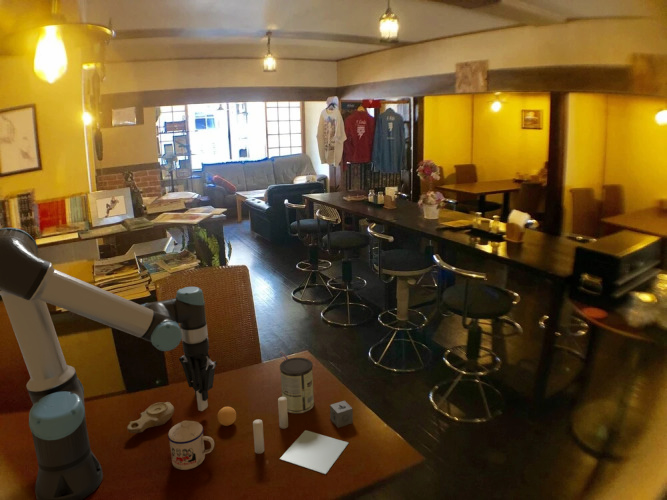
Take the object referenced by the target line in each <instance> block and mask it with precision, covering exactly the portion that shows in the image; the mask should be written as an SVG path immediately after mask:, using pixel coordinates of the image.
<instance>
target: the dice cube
mask: <svg viewBox="0 0 667 500" xmlns="http://www.w3.org/2000/svg"><path fill="white" fill-rule="evenodd" d="M329 408H330V409H329V413H330V414H329V417H330V418H329V419H330V421H331V422H332V423H333V424H334V425H335V426H336V428H337V429H339V428H342V427H345V426H349V425H352V424H353V423H354V422H353V421H354V416H353V415H354V414H353V413H354V412H353V411H354V410H353V407H352V406H351V405H350V404H349V403H348V402H346V400H342V401H339V402H335V403H331V404H330V405H329Z"/></svg>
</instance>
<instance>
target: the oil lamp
mask: <svg viewBox="0 0 667 500" xmlns="http://www.w3.org/2000/svg"><path fill="white" fill-rule="evenodd" d="M174 412H175V406H174V405H173V404H172V403H171V402H170V401H166V402H160V401H159V402H156V403H153V404H150V406H148V407H147V408H146V409H145V410H144V411H142V412H140V418H139V419H136V420H134V421H133V420H132V421H129V424H128V425H127V426H126V429H127V431H128V432H129V433H131V434H138V433H141V434H142V433H143V432H144V431H145V430H146V429H149V428H153V427H160V426H163V425H164V424H166V423H167V422H169V420H170V419H171V418H172V416H173V414H175V413H174Z"/></svg>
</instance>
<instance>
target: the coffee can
mask: <svg viewBox="0 0 667 500" xmlns="http://www.w3.org/2000/svg"><path fill="white" fill-rule="evenodd" d="M313 365H314V364H313V362H312V361H311V360H310V359H308V358H305V357H292V358H291V357H290V358H288V359H287V360H286V359H285V361H284V360H283V361H281V363H280V364H279V370H280V371H279V372H280V385H281V397H286V398H287V411H288V413H291V414H304V413H307V412H309V411H310V410H311V409H313V408H314V406H315V402H314V401H315V399H314V378H313V377H314V376H313V375H314V374H313Z"/></svg>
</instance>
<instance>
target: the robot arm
mask: <svg viewBox="0 0 667 500" xmlns="http://www.w3.org/2000/svg"><path fill="white" fill-rule="evenodd" d="M0 296H1V299H2V302H3V305H4V307H5V310H6V313H7V316H8V318H9V321H10V324H11V328H12V330H13V332H14V335H15V339H16V340H17V343H18V346H19V349H20V352H21V355H22V357H23V361H24V363H25V366H26V369H27V371H28V374H29V377H30V378H29V380H28V381H27V383H26V385H25V386H26V389H27V392H28V395H29V398H30V400H31V403H32V407H31V408H30V410H29V413H28V427H29V429H30V431H31V435H32V440H33V446H34V451H35V454H36V459H37V465H38V470H37V474H36V475H37V476H36V482H35V485H34V492H35V497H36V500H84V499H85V498H86V497H88V496H90V495H91V494H92V493H93V492H95V491H96V489H98V487H99V486H100V484H101V483H102V481H103V477H104V474H103V469H102V465H101V464H100V461H99V460H98V458H97V457H96V456H95V454H94V453H93V451H92V450H91V443H90V439H89V432H88V426H87V419H86V409H85V407H86V405H85V390H84V386H83V384H82V383H81V380H80V379H79V378H78V375H77V371H76V369H75V367H74V366H71V365H68V364H67V362H66V358H65V356H64V353H63V349H62V348H61V344H60V341H59V339H58V335H57V332H56V329H55V326H54V323H53V319H52V317H51V314H50V311H49V308H48V305H47V304H50V305H52V306H55V307H58V308H61V309H63V310H66V311H68V312H71V313H73V314H77V315H79V316H82V317H84V318H87V319H89V320H92V321H95V322H98V323H99V324H102V325H106V326H108V327H110V328H112V329H116V330H119V331H121V332H124V333H127V334H130V335H131V336H135V337H137V338H140V339H143V340H144V341H147V342H150V343H151V344H152V346H154V348H156V349H157V350H159V351H161V352H169V351H172V350H174V349H175V348H177V347H178V346H179V344H180V343H181V342H182V344H181V345H182V352H183V353H184V355H182V356H180V357H179V358H178V361H179V362H180V364H181V365H182V369H183V372H184V376H185V377H186V381H187V384H188V387H189V388H192V389H193V391H194V390H195V391H194V395H195V399H196V402H197V410H198V411H200V412H203V411H204V410H206V409H207V408H208V407H209V402H208V399H209V392H208V391H210V390H211V389H212V388H213V387H214V379H215V370H216V367H217V365H218V362H216V361H212V359H211V357H210V355H209V350H210V344H209V343H210V341H209V337H208V335H209V334H208V324H207V315H206V302H205V298H204V297H205V296H204V292H203V290H202V288H200V287H197V286H186V287H183V288H180V289H178V290H177V291H176V295H175V297H173V298H170V299H164V300H158V301H157V300H156V301H153V302H145V303H141V304H139V303H136V302H134V301H132V300H130V299H127V298H125V297H122V296H120V295H117V294H115V293H112V292H111V291H108V290H106V289H103V288H100V287H99V286H96V285H93V284H91V283H89V282H86V281H84V280H81V279H79V278H77V277H74V276H72V275H69V274H67V273H65V272H63V271H60V270H58V269H56V268H54V266H53V264H52V262H50V261H48V260H46V259H43V258H41V257H40V256H39V255H38V244H37V243H36V240H35V239H34V238H33V237H32V236H31V235H30V234H29V233H28V232H26V231H25V230H23V229H20V228H17V227H1V228H0ZM206 369H207V370H206ZM192 381H193V382H192Z"/></svg>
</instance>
